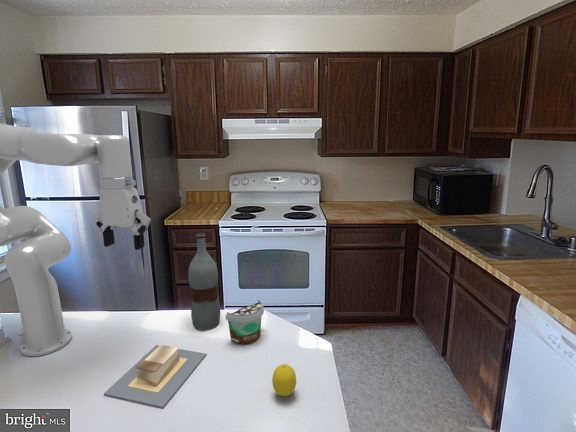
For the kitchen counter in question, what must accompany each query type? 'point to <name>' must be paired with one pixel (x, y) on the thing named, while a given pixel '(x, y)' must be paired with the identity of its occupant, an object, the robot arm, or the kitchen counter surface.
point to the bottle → (204, 288)
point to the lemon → (284, 380)
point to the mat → (165, 390)
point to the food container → (245, 324)
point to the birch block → (157, 365)
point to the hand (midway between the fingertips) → (124, 246)
